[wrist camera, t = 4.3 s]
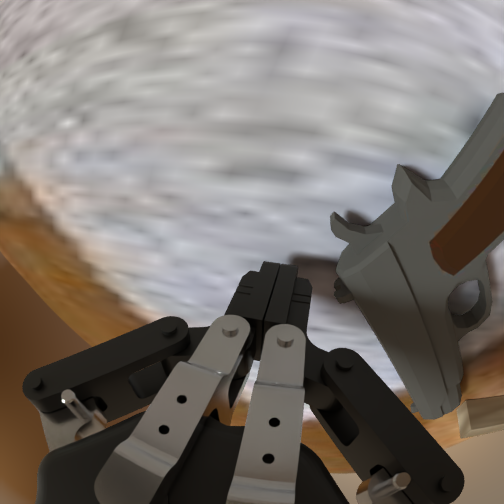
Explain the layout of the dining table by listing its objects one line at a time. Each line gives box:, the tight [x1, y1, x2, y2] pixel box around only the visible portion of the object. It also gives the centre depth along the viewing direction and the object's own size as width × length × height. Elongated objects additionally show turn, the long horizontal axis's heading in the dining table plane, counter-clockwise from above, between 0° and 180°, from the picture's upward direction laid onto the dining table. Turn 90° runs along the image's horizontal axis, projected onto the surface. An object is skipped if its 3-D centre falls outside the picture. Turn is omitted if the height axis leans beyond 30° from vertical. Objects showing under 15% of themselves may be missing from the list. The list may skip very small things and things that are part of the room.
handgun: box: [330, 93, 504, 419], centre depth 11 cm, size 3×18×12 cm
